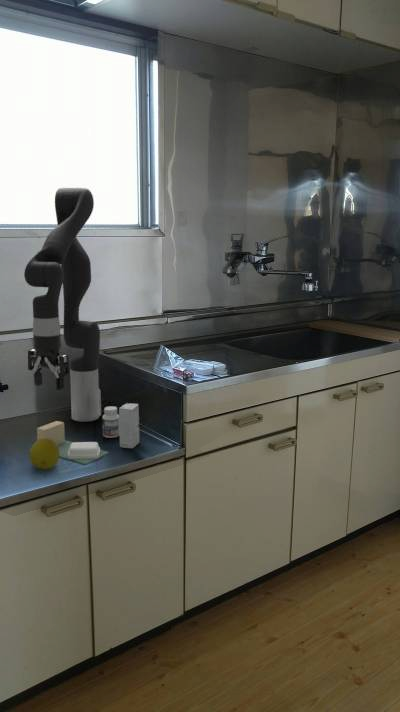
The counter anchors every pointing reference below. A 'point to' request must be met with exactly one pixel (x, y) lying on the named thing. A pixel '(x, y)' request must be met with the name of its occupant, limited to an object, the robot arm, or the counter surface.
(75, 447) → the soap
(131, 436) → the skincare box
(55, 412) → the counter surface
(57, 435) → the pale green tray
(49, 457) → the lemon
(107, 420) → the pill bottle
